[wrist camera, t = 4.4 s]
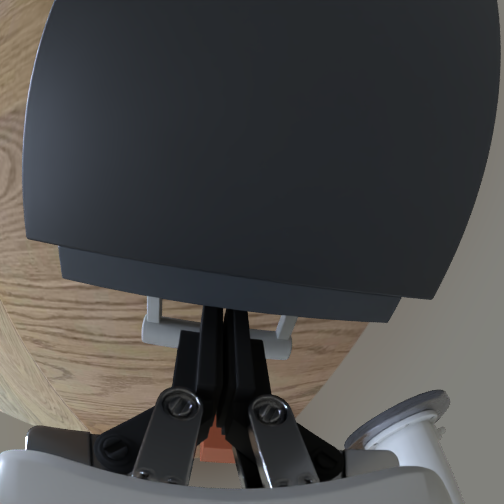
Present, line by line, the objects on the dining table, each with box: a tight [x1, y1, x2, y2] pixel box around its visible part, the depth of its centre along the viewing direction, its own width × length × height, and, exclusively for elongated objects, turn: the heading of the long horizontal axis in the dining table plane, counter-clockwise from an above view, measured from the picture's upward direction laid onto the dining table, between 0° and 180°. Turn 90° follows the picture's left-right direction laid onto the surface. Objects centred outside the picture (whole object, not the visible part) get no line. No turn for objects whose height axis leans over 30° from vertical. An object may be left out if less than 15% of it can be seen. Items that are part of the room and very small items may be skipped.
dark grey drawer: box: [58, 246, 401, 360], centre depth 10 cm, size 18×11×8 cm, turn 168°
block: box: [200, 415, 235, 463], centre depth 24 cm, size 5×5×5 cm
